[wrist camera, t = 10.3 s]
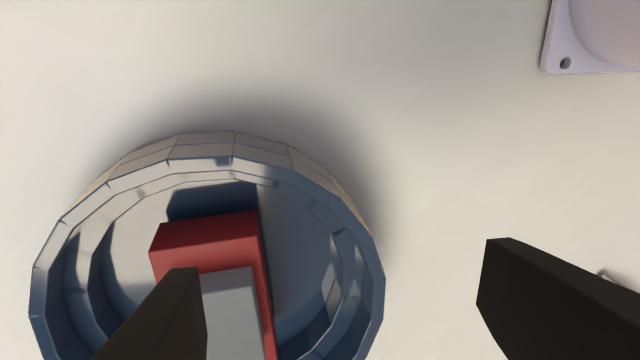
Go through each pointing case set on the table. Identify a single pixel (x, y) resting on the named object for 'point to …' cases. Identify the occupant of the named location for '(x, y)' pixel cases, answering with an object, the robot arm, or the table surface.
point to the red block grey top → (224, 280)
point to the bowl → (206, 200)
